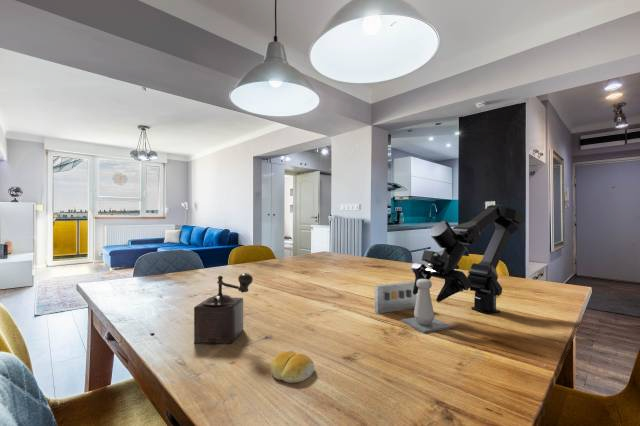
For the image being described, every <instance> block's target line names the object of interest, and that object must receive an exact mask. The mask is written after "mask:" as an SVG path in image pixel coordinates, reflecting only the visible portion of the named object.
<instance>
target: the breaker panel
mask: <svg viewBox="0 0 640 426" xmlns="http://www.w3.org/2000/svg"><path fill="white" fill-rule="evenodd" d="M414 284H415V281H405V282H395V283H385V284H375V285H374V313H376V314H377V315H379V314H384V313H392V312H398V311H399V312H400V311H406V310H412V309H414V310H415V305H416V299H417V294H418V293H417V294H416V295H414V294H413V288H414Z"/></svg>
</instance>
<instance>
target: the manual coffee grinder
mask: <svg viewBox="0 0 640 426" xmlns="http://www.w3.org/2000/svg"><path fill="white" fill-rule="evenodd" d="M223 279H224V277H223V275H219V276H218V277H217V284H218V290H217V291H218V292H217V294H215V295H213V296H210V297H208V298H206V299H204V300H203V301H202V302H200V303H199V304H197V305H195V306H194V307H193V308H194V309H193V334H194V335H193V336H194V337H193V339H194V340H193V344H201V343H205V344H206V343H207V345H217V344H218V345H221V344H232V343H233V342H235V341H236V340H237V339H238V338H239V337H240V336H241V334H242V333H243V331H244V297H232V296H229V295H227V294H223V287H227V288H230V289H231V288H232V289H234V290H235V289H236V290H238V291H239V292H241V294H243V293H247V292H249V286H250V285H251V284H252V283H253V281H254V280H253V276H252V275H251V274H250V273H247V272H246V273H241V274H240V275H239V276H238V278H237V279H238V282H239V285H236V284H231V283H226V282H224V281H223ZM242 330H243V331H242ZM241 332H242V333H241ZM238 336H239V337H238ZM205 344H204V345H205Z"/></svg>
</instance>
